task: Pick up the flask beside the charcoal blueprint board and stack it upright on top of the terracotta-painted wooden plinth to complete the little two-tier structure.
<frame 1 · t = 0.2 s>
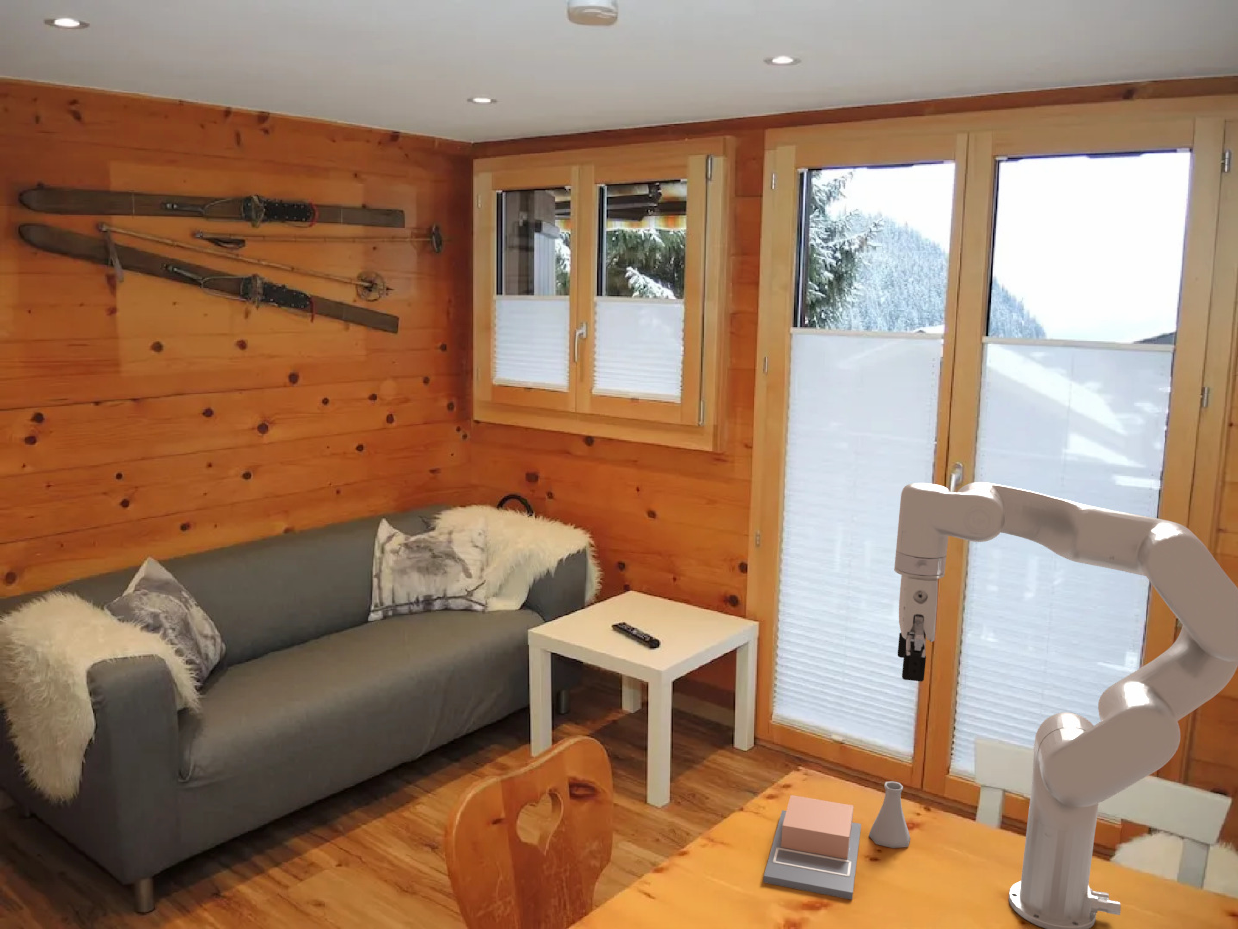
hand: (910, 668, 160), 36 cm above the table, tool pointing down, fingers open, 9 cm apart
build base: (814, 855, 172), on the table
flask: (889, 839, 178), on the table
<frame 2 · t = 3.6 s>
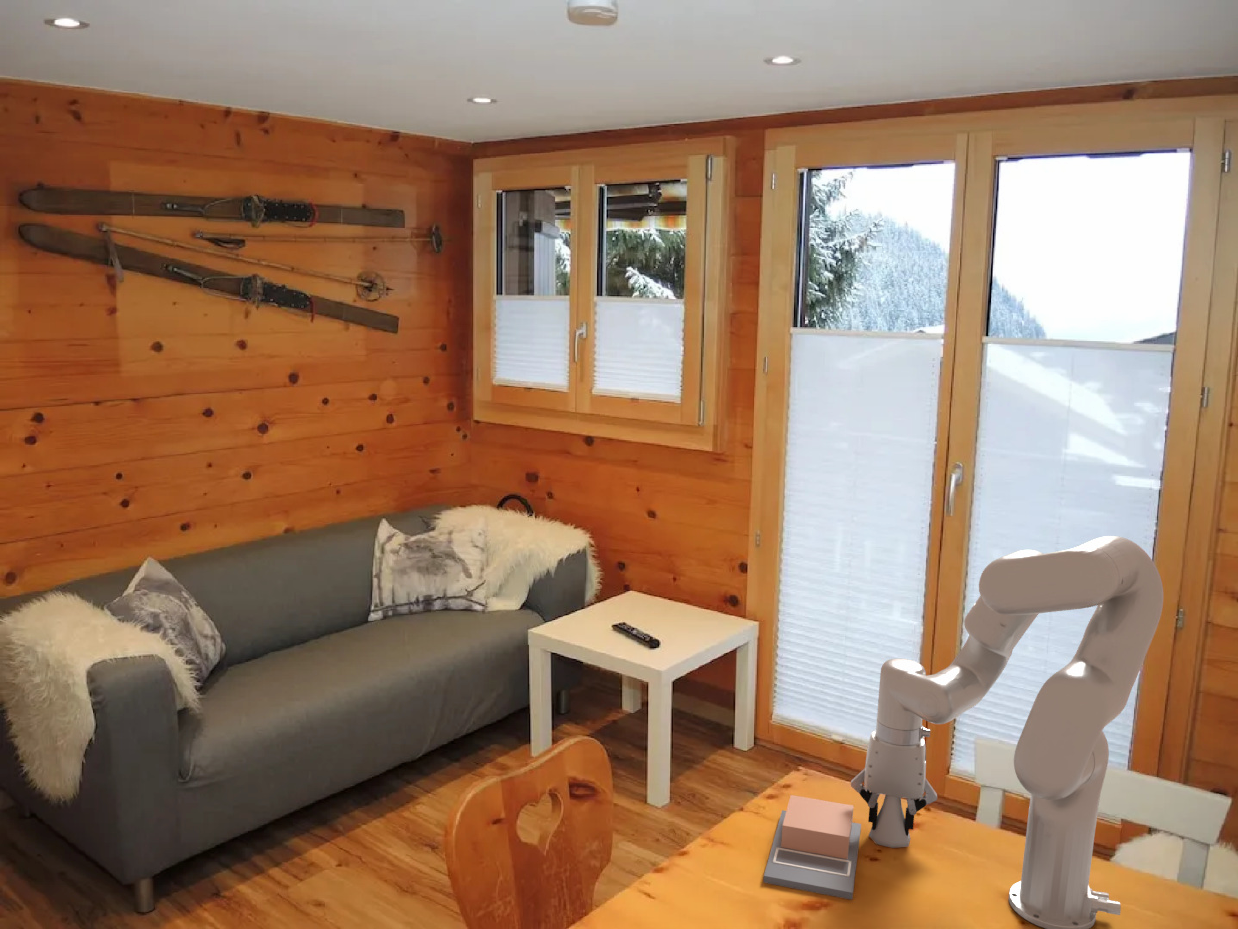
hand: (890, 828, 178), 2 cm above the table, tool pointing down, fingers closed on flask, 4 cm apart
flask: (889, 839, 178), on the table, touching gripper
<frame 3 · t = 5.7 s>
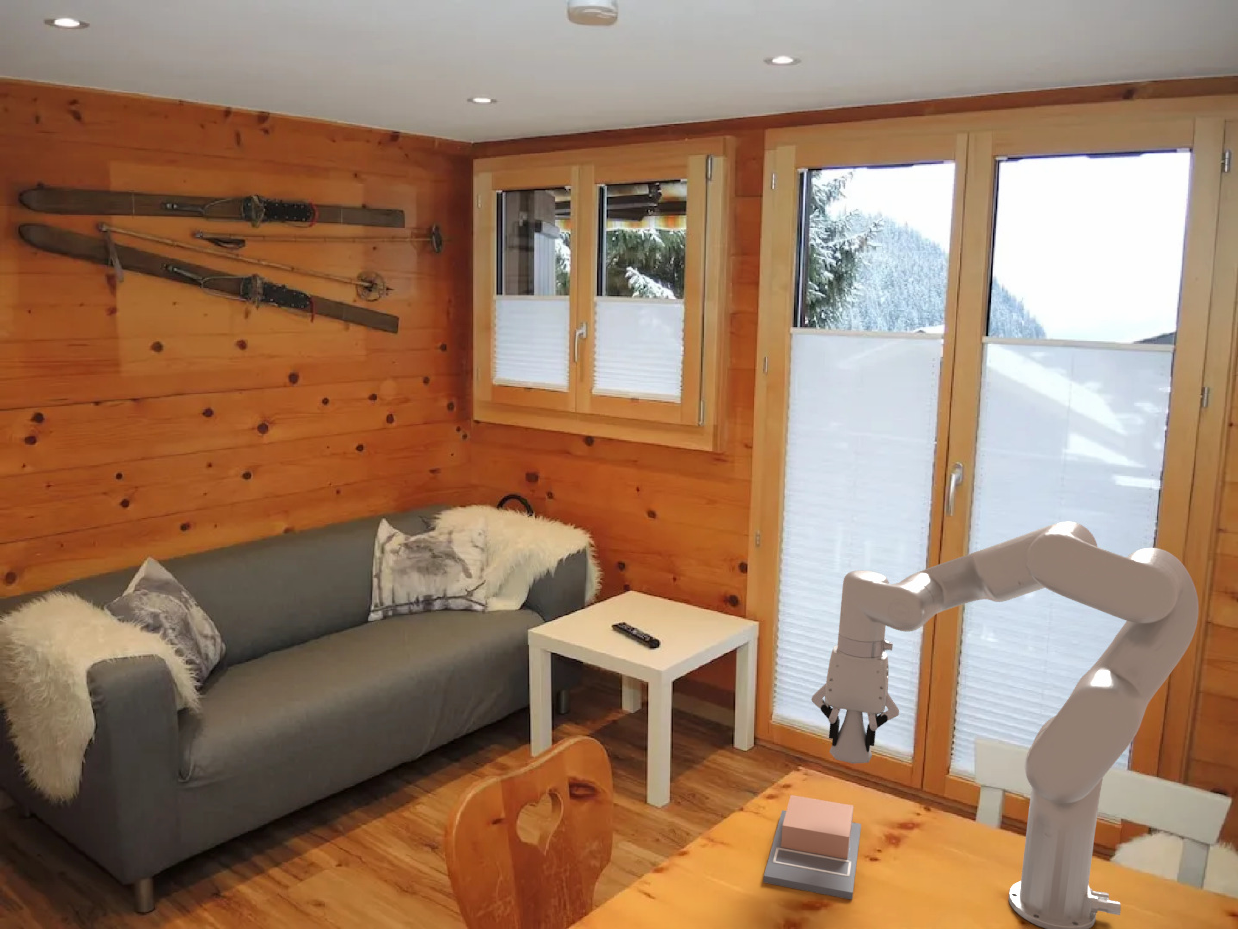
hand: (851, 744, 174), 18 cm above the table, tool pointing down, fingers closed on flask, 4 cm apart
flask: (850, 756, 174), point 16 cm above the table, touching gripper
when the fingers open (8 cm above the table, at t = 8.2 s): flask stays where it is, resting on build base.
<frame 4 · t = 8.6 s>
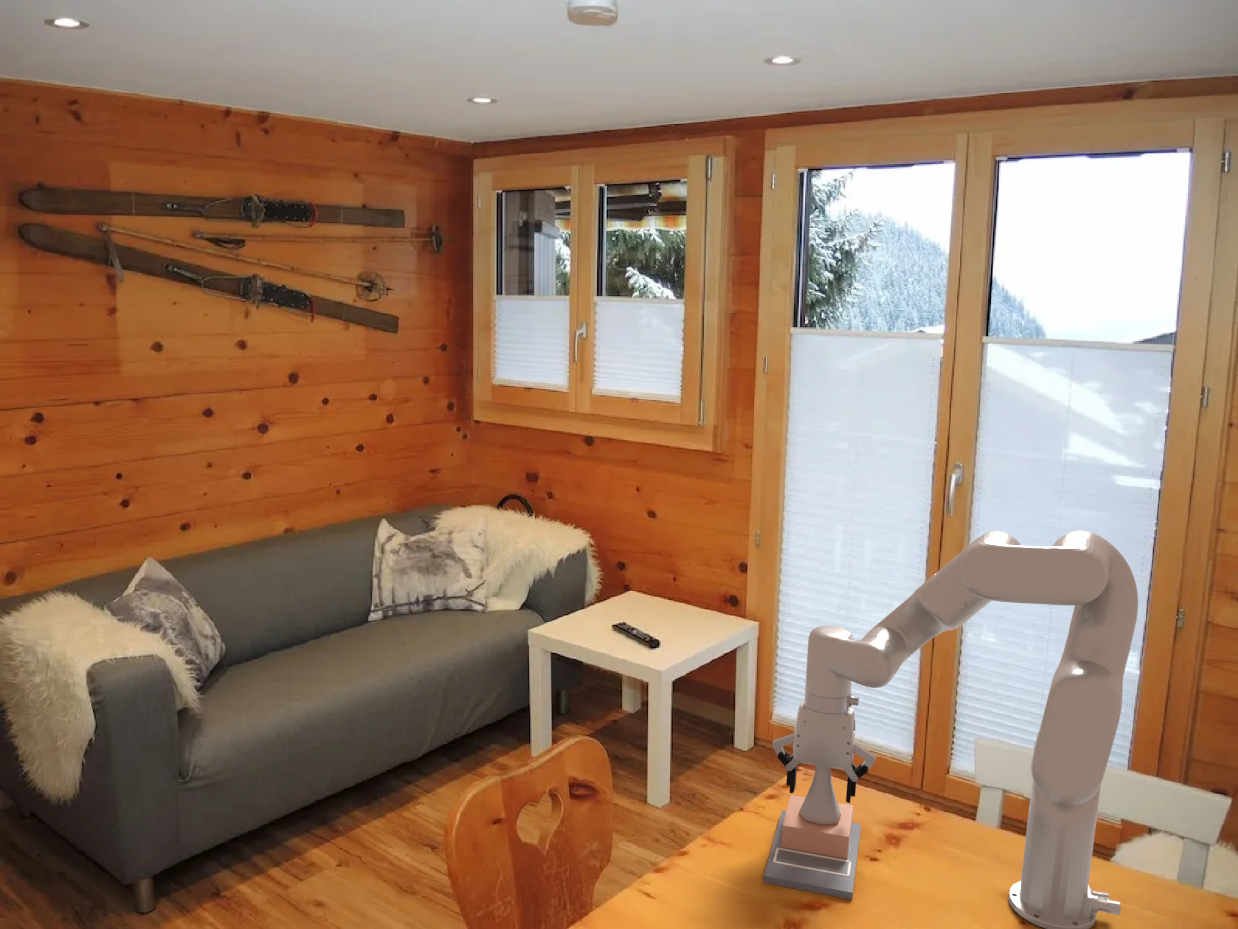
hand: (820, 794, 174), 9 cm above the table, tool pointing down, fingers open, 9 cm apart
flask: (819, 816, 175), point 5 cm above the table, touching build base
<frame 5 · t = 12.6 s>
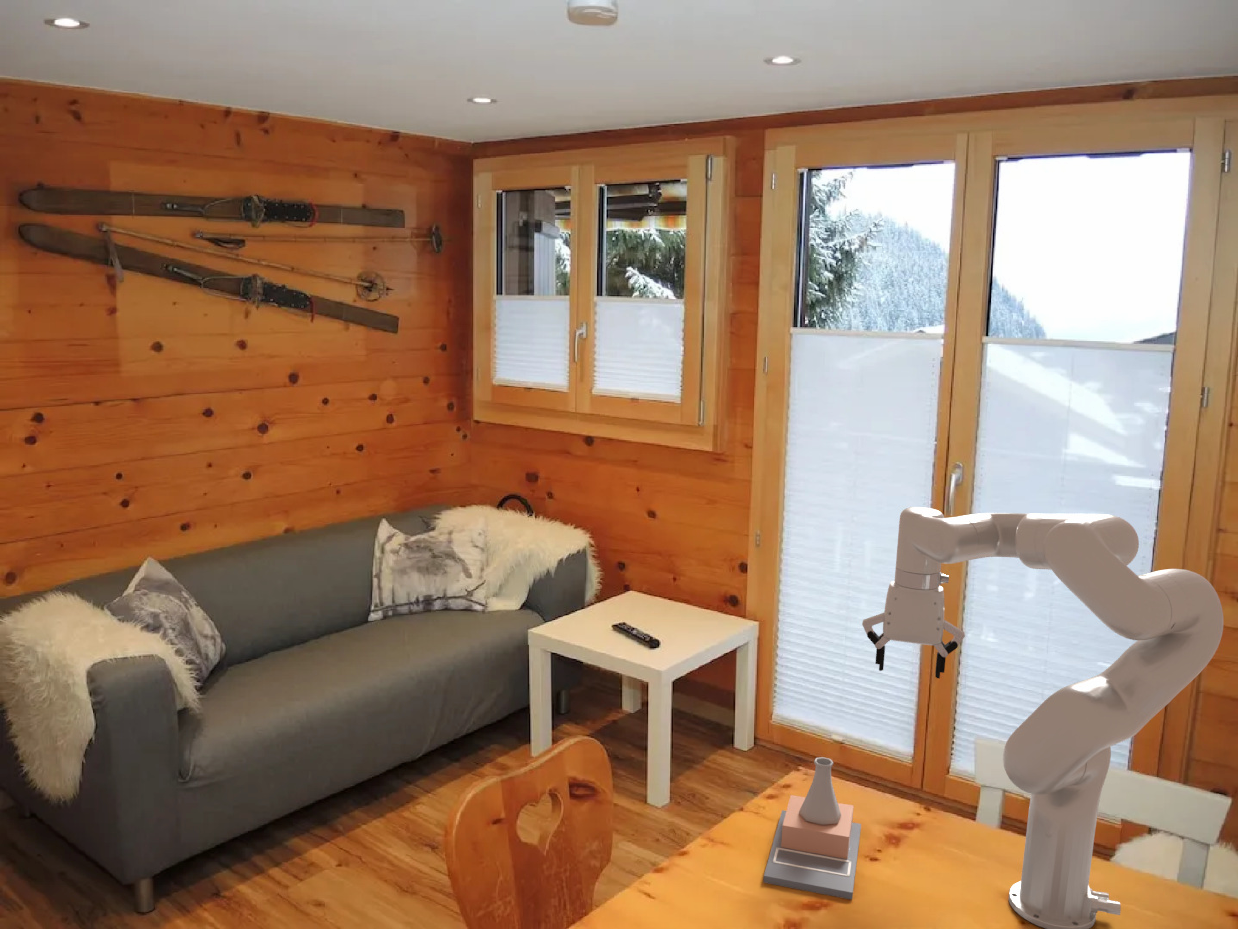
hand: (909, 672, 180), 28 cm above the table, tool pointing down, fingers open, 9 cm apart
nothing on the table moved.
at the end: flask 0.2 cm from the target spot on the build base, point 5.0 cm above the build base's base; flask tilted 0°; the gripper is holding nothing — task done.
